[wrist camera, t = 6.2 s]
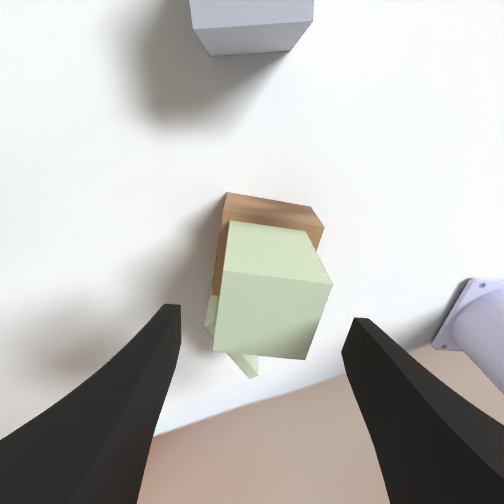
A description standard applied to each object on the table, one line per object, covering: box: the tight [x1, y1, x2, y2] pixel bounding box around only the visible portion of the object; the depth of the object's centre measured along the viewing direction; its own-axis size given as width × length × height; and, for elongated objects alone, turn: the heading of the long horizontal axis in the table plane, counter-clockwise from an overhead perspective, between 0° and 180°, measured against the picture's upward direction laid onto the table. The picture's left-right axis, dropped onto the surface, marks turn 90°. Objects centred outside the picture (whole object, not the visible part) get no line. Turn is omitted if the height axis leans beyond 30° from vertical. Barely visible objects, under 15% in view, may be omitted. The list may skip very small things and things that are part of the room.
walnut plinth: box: [211, 192, 324, 296], centre depth 18 cm, size 6×6×4 cm
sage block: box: [212, 220, 333, 360], centre depth 14 cm, size 4×4×6 cm
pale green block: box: [204, 288, 259, 379], centre depth 21 cm, size 3×6×5 cm, turn 30°
